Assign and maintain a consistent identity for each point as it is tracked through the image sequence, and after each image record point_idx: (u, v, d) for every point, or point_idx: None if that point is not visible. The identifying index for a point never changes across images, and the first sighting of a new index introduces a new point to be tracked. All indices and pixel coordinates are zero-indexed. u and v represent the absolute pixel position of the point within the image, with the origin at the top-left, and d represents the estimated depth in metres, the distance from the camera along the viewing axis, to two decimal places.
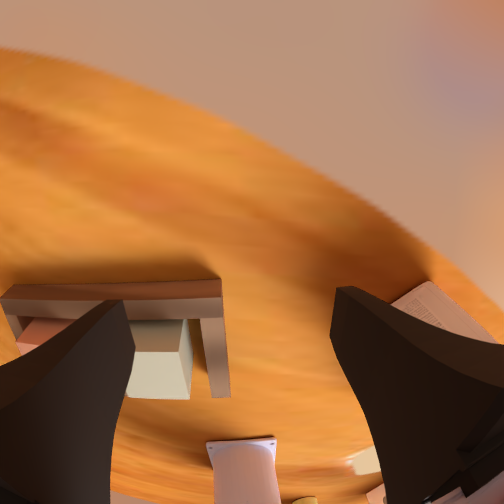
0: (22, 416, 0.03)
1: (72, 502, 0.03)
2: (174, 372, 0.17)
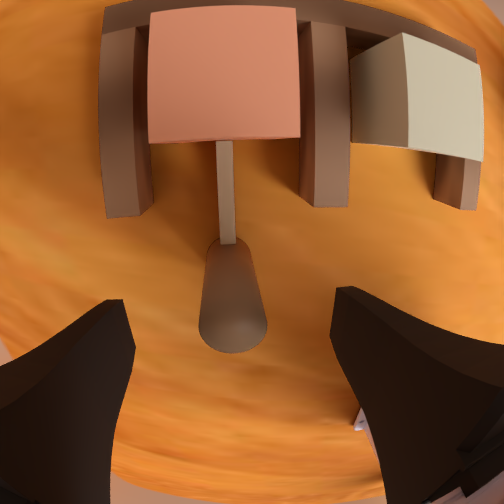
0: (22, 416, 0.03)
1: (72, 502, 0.03)
2: (475, 98, 0.08)
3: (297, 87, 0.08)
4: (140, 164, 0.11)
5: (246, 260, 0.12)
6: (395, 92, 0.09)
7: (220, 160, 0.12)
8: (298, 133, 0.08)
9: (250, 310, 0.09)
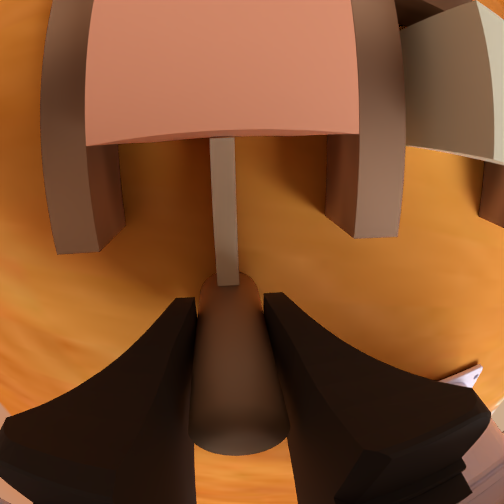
0: (149, 440, 0.03)
1: None
2: None
3: (352, 48, 0.04)
4: (98, 175, 0.07)
5: (255, 314, 0.08)
6: (469, 78, 0.05)
7: (216, 167, 0.08)
8: (356, 127, 0.04)
9: (266, 416, 0.05)
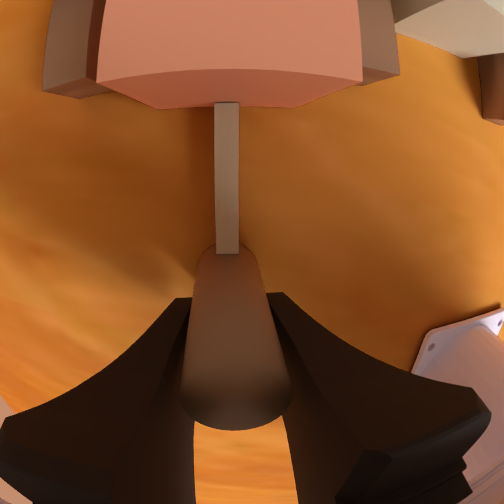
0: (148, 440, 0.03)
1: None
2: None
3: (355, 8, 0.04)
4: (100, 22, 0.05)
5: (255, 280, 0.08)
6: None
7: (220, 130, 0.08)
8: (359, 75, 0.04)
9: (266, 379, 0.05)
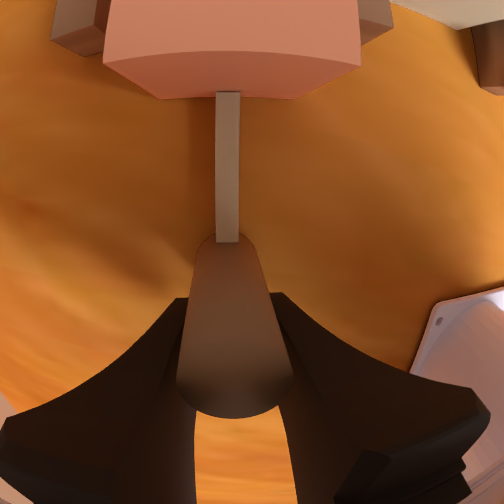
0: (149, 440, 0.03)
1: None
2: None
3: None
4: None
5: (254, 267, 0.08)
6: None
7: (221, 119, 0.08)
8: (358, 60, 0.04)
9: (266, 361, 0.05)
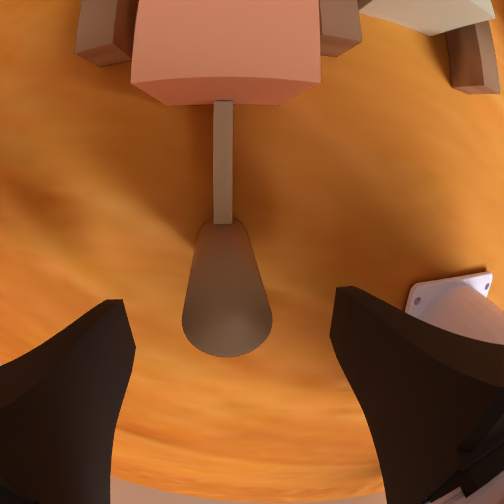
0: (22, 416, 0.03)
1: (72, 502, 0.03)
2: None
3: (317, 28, 0.05)
4: (123, 4, 0.07)
5: (245, 242, 0.10)
6: None
7: (218, 123, 0.10)
8: (318, 78, 0.06)
9: (250, 301, 0.07)
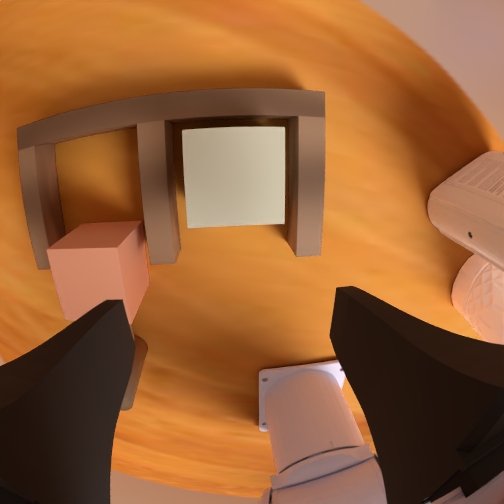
0: (22, 416, 0.03)
1: (72, 502, 0.03)
2: (272, 165, 0.13)
3: (125, 299, 0.14)
4: (52, 236, 0.16)
5: (134, 358, 0.19)
6: None
7: None
8: (130, 322, 0.15)
9: None
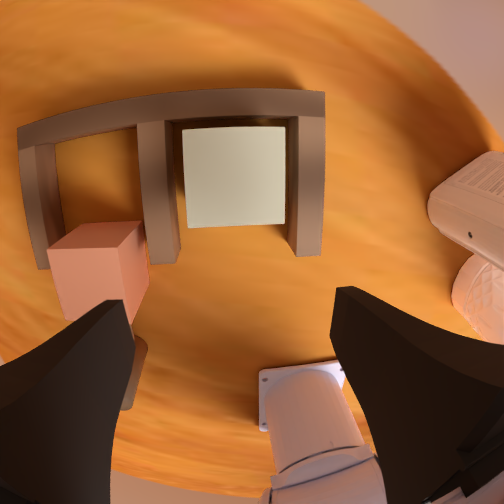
0: (22, 416, 0.03)
1: (72, 502, 0.03)
2: (273, 165, 0.13)
3: (125, 299, 0.14)
4: (52, 236, 0.16)
5: (134, 358, 0.19)
6: None
7: None
8: (130, 322, 0.15)
9: None
